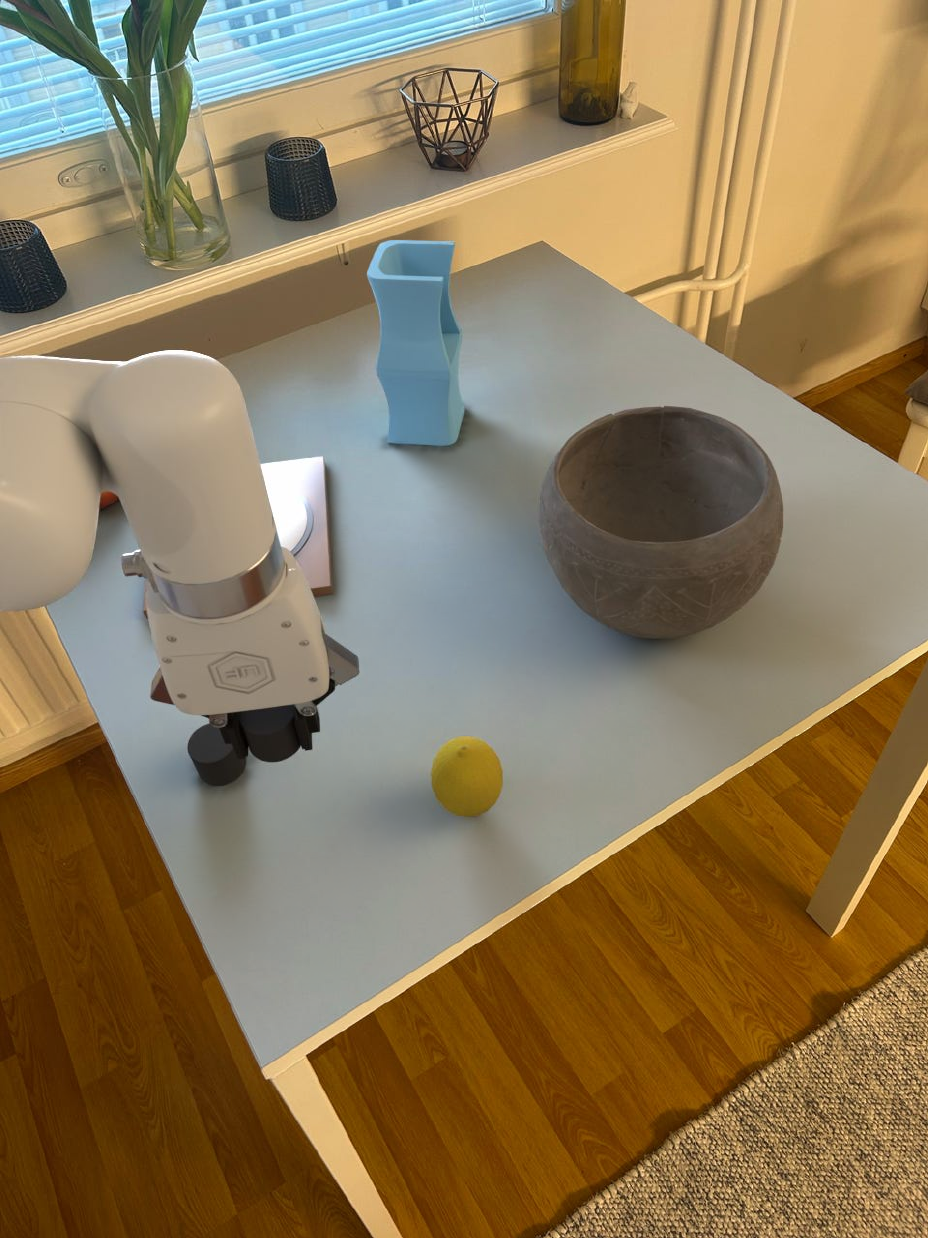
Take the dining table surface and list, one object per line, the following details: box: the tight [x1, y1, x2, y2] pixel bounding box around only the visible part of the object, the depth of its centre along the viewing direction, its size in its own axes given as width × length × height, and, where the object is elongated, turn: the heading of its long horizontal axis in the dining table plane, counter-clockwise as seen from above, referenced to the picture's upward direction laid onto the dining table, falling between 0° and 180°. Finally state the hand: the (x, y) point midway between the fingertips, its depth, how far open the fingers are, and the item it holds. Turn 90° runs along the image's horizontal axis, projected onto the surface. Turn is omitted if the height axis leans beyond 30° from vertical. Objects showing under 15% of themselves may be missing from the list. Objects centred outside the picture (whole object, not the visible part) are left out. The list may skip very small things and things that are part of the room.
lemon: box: [430, 735, 504, 818], centre depth 72 cm, size 6×6×8 cm
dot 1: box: [186, 722, 247, 787], centre depth 77 cm, size 4×4×4 cm
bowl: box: [538, 405, 784, 640], centre depth 83 cm, size 21×21×15 cm
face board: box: [142, 455, 333, 620], centre depth 96 cm, size 18×20×1 cm
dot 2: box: [239, 704, 301, 764], centre depth 67 cm, size 4×4×4 cm
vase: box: [366, 239, 466, 447], centre depth 100 cm, size 8×8×20 cm
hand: (275, 736), depth 68 cm, fingers closed on dot 2, 4 cm apart
